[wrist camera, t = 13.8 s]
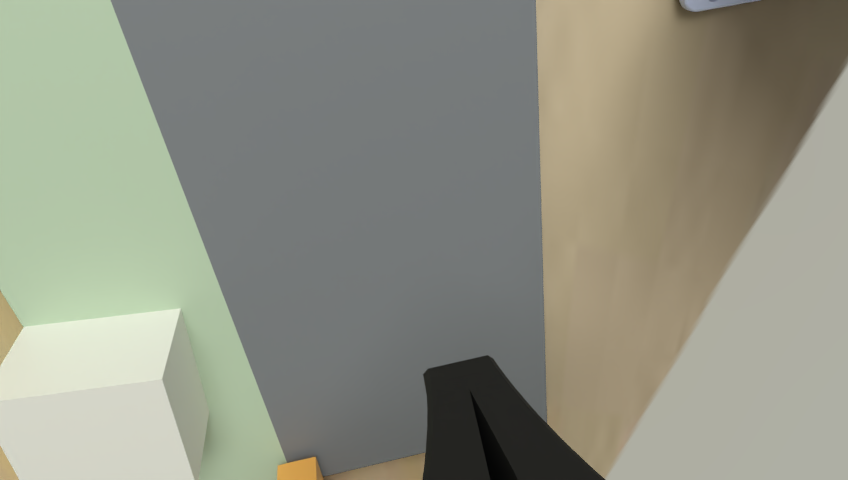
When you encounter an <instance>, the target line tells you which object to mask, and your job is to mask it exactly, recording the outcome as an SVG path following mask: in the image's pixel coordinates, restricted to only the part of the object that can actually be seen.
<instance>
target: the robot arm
mask: <svg viewBox="0 0 848 480" xmlns="http://www.w3.org/2000/svg"><path fill="white" fill-rule="evenodd" d="M679 1H680V4H681V6H682V7H683V8H684V9H686V10H689V11H692V12H699V11H704V10H710V9H716V8H721V7H727V6H732V5H738V4H743V3H749V2H754V1H760V0H679ZM423 377H424V382H425V388H426V394H427V439H426V454H425V465H424V473H423V480H605V479H604V478H603V477H602V476H600V475H599V474H598V473H597V472H596V471H595V470H594V469H593V468H592V467H590V466H589V465H588V464H587V463H586V462H585V461H584V460H583V459H582V458H581V457H580V456H579V455H578V454H577V453H576V452H574V451H573V450H572V449H571V448H570V447H569V446H568V445H567V444H566V443H565V442H564V441H563V440H562V439H561V438H560V437H559V436H558V435H557V434H556V433H555V432H554V430H553V429H552V428H551V427H550V426H549V425H548V424H547V423H546V422H545V421H544V420H543V419H542V418H541V417H540V416H539V415H538V414H537V412H536V411H535V410H534V409H533V408H532V407H531V406H530V405H529V403H528V402H527V401H526V400H525V399H524V398H523V396H522V395H521V394H520V393H519V392H518V391H517V389H516V388H515V387H514V386H513V384H512V383H511V382H510V381H509V379H508V378H507V377H506V376H505V374H504V373H503V372H502V370H501V369H500V367H499V366H498V365H497V363H496V362H495V360H494V359H493V358H492V357H490V356H488V355H486V356H482V357H477V358H473V359H468V360H464V361H459V362H455V363H451V364H446V365H442V366H437V367H433V368H429V369H427V370H426V371H425V373H424V374H423Z"/></svg>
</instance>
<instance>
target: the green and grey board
mask: <svg viewBox="0 0 848 480" xmlns="http://www.w3.org/2000/svg"><path fill="white" fill-rule="evenodd" d="M0 291H1V292H2V294H3V295H4V297H5V299H6V300H7V302H8V303H9V305H10V307H11V308H12V310H13V311H14V313H15V315H16V316H17V318H18V319H19V321H20V323H21V324H22V326H23V327H26V326H35V325H43V324H52V323H60V322H69V321H77V320H86V319H94V318H103V317H111V316H120V315H128V314H137V313H145V312H154V311H162V310H171V309H179V308H181V311H182V315H183V318H184V322H185V326H186V329H187V333H188V336H189V340H190V344H191V347H192V351H193V354H194V358H195V361H196V365H197V369H198V372H199V376H200V379H201V383H202V387H203V390H204V394H205V397H206V401H207V405H208V408H209V417H208V423H207V429H206V436H205V442H204V448H203V454H202V461H201V467H200V473H199V480H277V468H278V465H282V464H286V463H290V462H294V461H299V460H303V459H307V458H311V457H316V459H317V462H318V465H319V468H320V471H321V474H322V476H323V477H324V476H329V475H333V474H337V473H341V472H345V471H349V470H354V469H358V468H362V467H366V466H370V465H375V464H379V463H383V462H387V461H391V460H395V459H400V458H404V457H408V456H412V455H416V454H421V453H425V452H426V439H427V394H426V388H425V382H424V377H423V374H424V373H425V371H426V370H427V369H429V368H433V367H437V366H442V365H446V364H451V363H455V362H459V361H464V360H468V359H473V358H477V357H482V356H486V355H488V356H490V357H492V358H493V359H494V360H495V362H496V363H497V365H498V366H499V367H500V369H501V370H502V372H503V373H504V374H505V376H506V377H507V378H508V379H509V381H510V382H511V383H512V384H513V386H514V387H515V388H516V389H517V391H518V392H519V393H520V394H521V395H522V396H523V398H524V399H525V400H526V401H527V402H528V403H529V405H530V406H531V407H532V408H533V409H534V410H535V411H536V412H537V414H538V415H539V416H540V417H541V418H542V419H543V420H544V421H545V422H546V423H547V406H546V369H545V331H544V294H543V256H542V219H541V181H540V144H539V106H538V69H537V32H536V0H0Z"/></svg>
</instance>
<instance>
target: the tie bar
mask: <svg viewBox="0 0 848 480" xmlns="http://www.w3.org/2000/svg"><path fill="white" fill-rule="evenodd" d="M277 480H324V479H323V476H322V474H321V471H320V468H319V465H318V462H317V459H316V457H311V458H307V459H303V460H299V461H294V462H290V463H286V464H282V465H278V468H277Z"/></svg>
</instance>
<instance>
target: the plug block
mask: <svg viewBox="0 0 848 480" xmlns="http://www.w3.org/2000/svg"><path fill="white" fill-rule="evenodd" d="M208 417H209V408H208V405H207V401H206V397H205V394H204V390H203V387H202V383H201V379H200V376H199V372H198V369H197V365H196V361H195V358H194V354H193V351H192V347H191V344H190V340H189V336H188V333H187V329H186V326H185V322H184V318H183V315H182V311H181V308H179V309H171V310H162V311H154V312H145V313H137V314H128V315H120V316H111V317H103V318H94V319H86V320H77V321H69V322H60V323H52V324H43V325H35V326H26V327H24V328H23V329H22V331H21V333H20V334H19V336H18V338H17V339H16V341H15V343H14V344H13V346H12V348H11V349H10V351H9V353H8V354H7V356H6V358H5V359H4V361H3V363H2V364H1V366H0V445H1V447H2V449H3V451H4V453H5V455H6V456H7V458H8V460H9V462H10V464H11V465H12V467H13V469H14V471H15V473H16V474H17V476H18V478H19V480H199V473H200V467H201V461H202V454H203V448H204V442H205V436H206V429H207V423H208Z"/></svg>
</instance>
